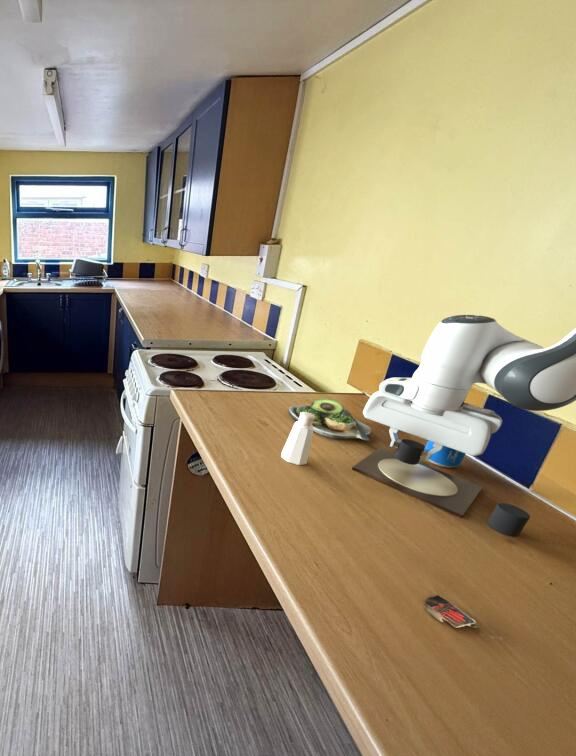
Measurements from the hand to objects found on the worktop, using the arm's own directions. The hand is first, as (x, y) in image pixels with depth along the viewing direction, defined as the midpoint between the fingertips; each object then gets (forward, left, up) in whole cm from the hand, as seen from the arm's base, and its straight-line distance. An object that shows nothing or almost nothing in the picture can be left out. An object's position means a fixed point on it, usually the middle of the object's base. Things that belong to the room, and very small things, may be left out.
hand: (408, 452), depth 87 cm
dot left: (0, 0, -2) cm, 2 cm away
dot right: (-17, +8, -4) cm, 19 cm away
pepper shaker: (+15, +18, -4) cm, 24 cm away
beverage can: (-4, -11, -4) cm, 13 cm away
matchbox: (-16, +40, -4) cm, 43 cm away
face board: (-3, +3, -4) cm, 6 cm away
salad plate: (+19, -8, -4) cm, 21 cm away
